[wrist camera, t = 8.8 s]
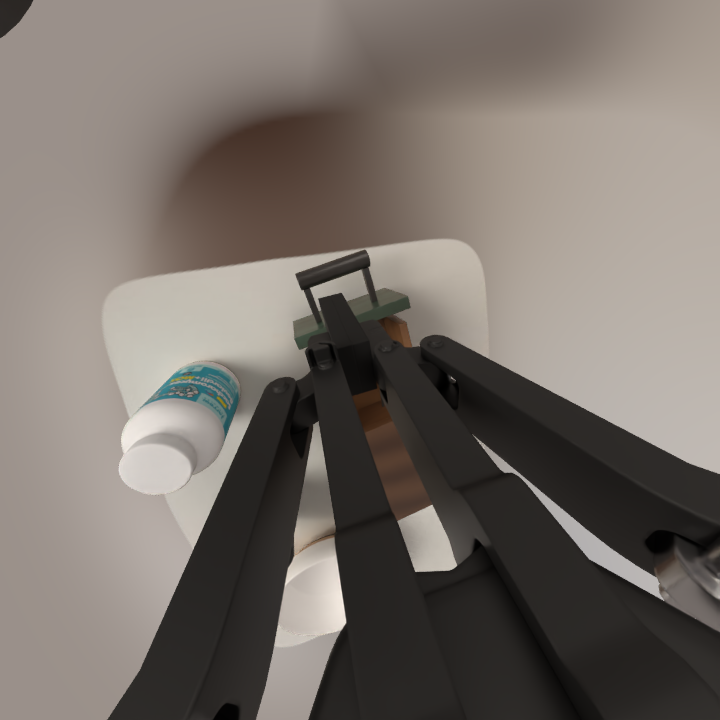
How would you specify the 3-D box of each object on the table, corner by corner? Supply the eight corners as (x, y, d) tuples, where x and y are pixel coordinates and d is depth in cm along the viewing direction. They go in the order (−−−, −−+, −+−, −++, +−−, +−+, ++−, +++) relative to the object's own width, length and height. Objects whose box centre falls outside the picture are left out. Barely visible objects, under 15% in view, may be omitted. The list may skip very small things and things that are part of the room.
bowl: (255, 546, 43) (250, 590, 37) (370, 500, 45) (382, 534, 40) (296, 608, 51) (297, 651, 45) (392, 565, 53) (404, 601, 48)
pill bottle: (251, 373, 32) (229, 445, 20) (228, 422, 34) (194, 516, 22) (184, 348, 30) (111, 414, 17) (161, 402, 31) (80, 499, 19)
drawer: (274, 277, 28) (270, 284, 22) (373, 243, 30) (395, 241, 23) (335, 419, 37) (344, 452, 30) (410, 387, 38) (434, 414, 32)
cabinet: (324, 404, 36) (334, 445, 29) (408, 370, 38) (439, 401, 30) (358, 481, 43) (373, 531, 35) (429, 450, 44) (459, 492, 37)
